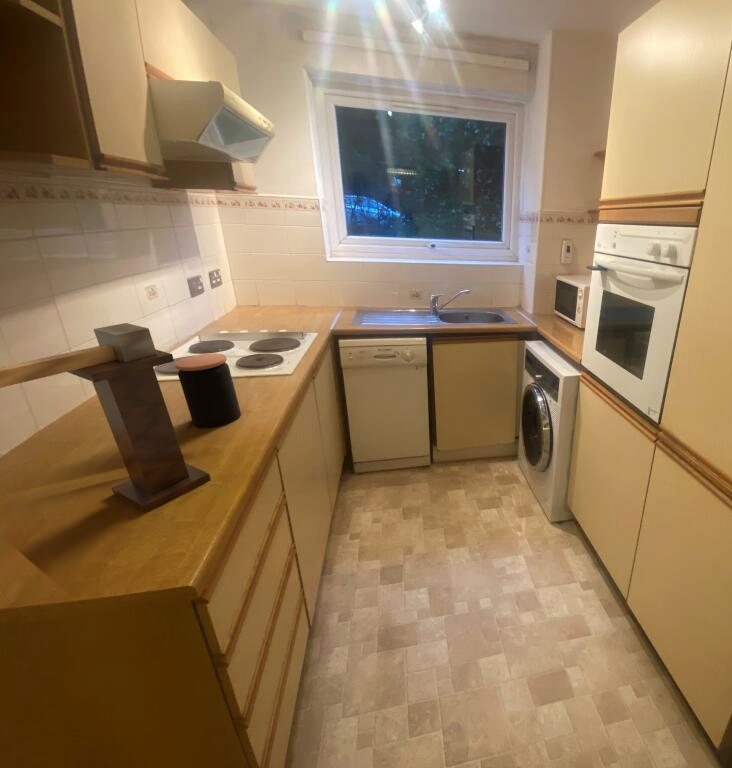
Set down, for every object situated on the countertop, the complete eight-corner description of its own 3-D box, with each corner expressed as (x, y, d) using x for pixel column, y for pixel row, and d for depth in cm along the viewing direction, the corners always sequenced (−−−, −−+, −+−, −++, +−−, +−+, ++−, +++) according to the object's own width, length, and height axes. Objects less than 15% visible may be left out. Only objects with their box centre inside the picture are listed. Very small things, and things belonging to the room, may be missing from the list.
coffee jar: (249, 413, 120) (233, 352, 113) (232, 432, 110) (214, 366, 103) (206, 416, 118) (188, 354, 111) (186, 435, 108) (165, 368, 102)
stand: (145, 512, 82) (91, 374, 71) (113, 494, 87) (58, 362, 76) (211, 479, 91) (172, 353, 81) (179, 464, 96) (138, 344, 86)
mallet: (-7, 394, 63) (-23, 362, 61) (-26, 384, 66) (-42, 353, 64) (157, 354, 80) (148, 328, 78) (134, 348, 84) (126, 322, 82)
